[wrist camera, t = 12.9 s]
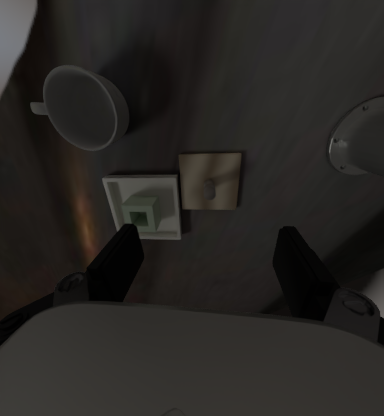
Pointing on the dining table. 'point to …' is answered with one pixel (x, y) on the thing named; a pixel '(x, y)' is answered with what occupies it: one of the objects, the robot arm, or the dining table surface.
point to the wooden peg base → (209, 180)
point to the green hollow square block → (142, 204)
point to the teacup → (84, 107)
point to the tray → (147, 186)
